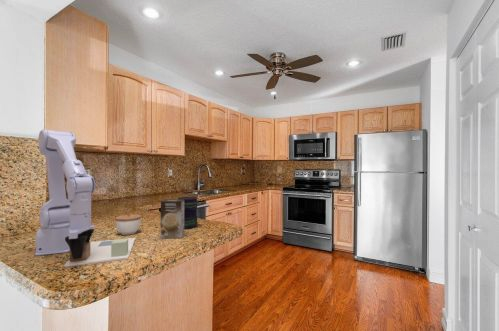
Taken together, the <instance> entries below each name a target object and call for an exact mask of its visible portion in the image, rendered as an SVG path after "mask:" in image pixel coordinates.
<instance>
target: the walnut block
mask: <svg viewBox="0 0 499 331" xmlns="http://www.w3.org/2000/svg"><path fill="white" fill-rule="evenodd" d="M90 242H91V241H89V242H85V244H84V248H83V254H82V257H81V258H78V259H73V257H72V253H71V250H69V260H70V262H74V261H83V260H87V259H88V258H89V256H90Z"/></svg>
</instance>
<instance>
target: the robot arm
mask: <svg viewBox="0 0 499 331" xmlns="http://www.w3.org/2000/svg"><path fill="white" fill-rule="evenodd" d="M37 138H38V140H37V141H38V151H39V154H41V155H43V156H44V158H45V162H46V164H45V165H46V174H47V175H46V177H47V185H48V186H47V187H48V197H49V200H48V201H46V202H45V203H44V204H42V205H41V206H40V208H39V218H38V220H39V224H40V226H41V227H40V228H38V230H37V231H36V236H35V254H34V256H45V255H54V254H55V255H56V254H62V253H63V254H65V253H68V252H70V250H71V253H72V257H73V259H78V258H81V257H82V254H83V248H84V244H85V242H91V238H92V235H93V233H94V232H95V228H96V225H94V224H93V225H92V194H93V193H94V192H95V189H96V182H95V179H94V177H93V176H92V175H90V174H89V173H87V171H86V169H85V167H84V164H83V162H82V161H81V160H80V159H77V156H76V151H75V146H76V144H77V143H76V142H77V137H76V135H75V133H74V132H72V131H69V132H67V131H59V130H51V129H44V128H43V129H41V130H40V131H39V134H38V137H37ZM65 179H66V180H67V181H66V184H65ZM66 192H67V193H66ZM66 194H67V195H66Z"/></svg>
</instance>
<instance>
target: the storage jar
mask: <svg viewBox="0 0 499 331" xmlns="http://www.w3.org/2000/svg"><path fill="white" fill-rule="evenodd" d="M177 199H180V200H184V230H193V228H194V229H196V228H198V212H197V210H198V197H196V196H181V197H178V198H177Z"/></svg>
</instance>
